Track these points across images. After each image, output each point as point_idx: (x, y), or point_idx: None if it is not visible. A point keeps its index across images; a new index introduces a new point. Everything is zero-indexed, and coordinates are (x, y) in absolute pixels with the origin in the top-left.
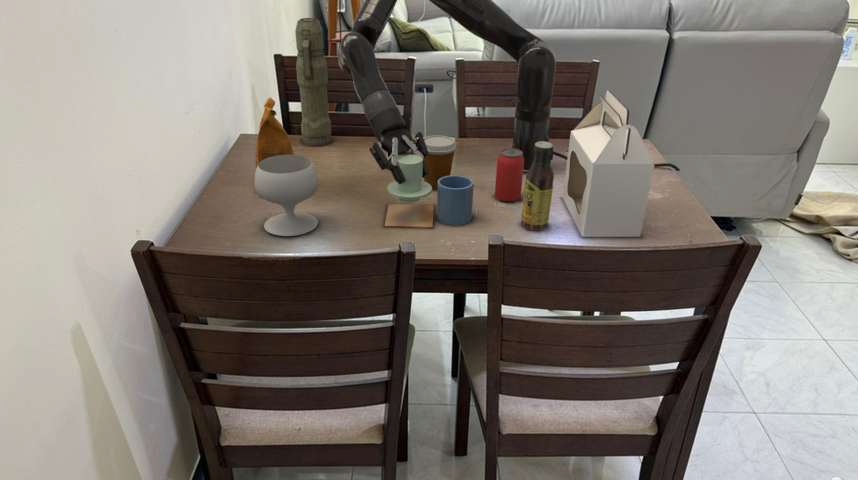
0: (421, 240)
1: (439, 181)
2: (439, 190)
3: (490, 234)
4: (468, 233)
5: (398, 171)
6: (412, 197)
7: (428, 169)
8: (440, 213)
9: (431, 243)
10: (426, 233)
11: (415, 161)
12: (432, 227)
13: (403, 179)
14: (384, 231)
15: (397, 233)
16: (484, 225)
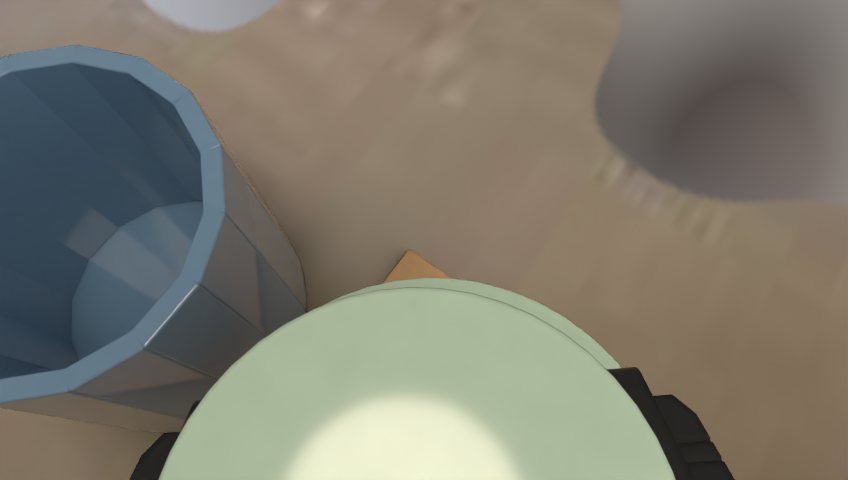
0: (560, 157)
1: (153, 309)
2: (238, 250)
3: (178, 27)
4: (268, 92)
5: (682, 469)
6: (528, 301)
7: (141, 456)
8: (293, 285)
9: (527, 100)
10: (482, 215)
11: (395, 362)
12: (407, 253)
13: (621, 370)
14: (722, 387)
15: (651, 313)
16: None
